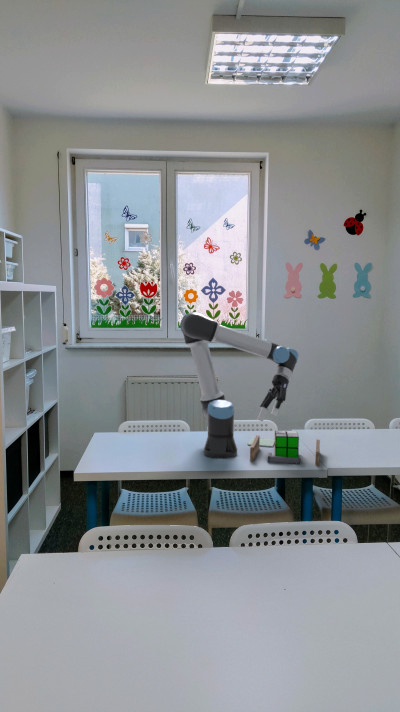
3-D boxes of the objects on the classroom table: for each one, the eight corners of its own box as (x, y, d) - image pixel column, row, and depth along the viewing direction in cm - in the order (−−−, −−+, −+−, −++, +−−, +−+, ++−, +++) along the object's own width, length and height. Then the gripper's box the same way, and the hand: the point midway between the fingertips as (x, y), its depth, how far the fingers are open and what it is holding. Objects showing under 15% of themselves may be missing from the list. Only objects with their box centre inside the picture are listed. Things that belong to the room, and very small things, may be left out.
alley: (250, 460, 216) (250, 447, 215) (256, 447, 235) (256, 435, 235) (319, 466, 209) (319, 452, 208) (319, 452, 228) (319, 439, 228)
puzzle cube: (296, 452, 228) (296, 431, 227) (298, 459, 219) (299, 436, 218) (274, 451, 229) (274, 430, 228) (275, 458, 220) (275, 436, 218)
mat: (247, 445, 239) (247, 444, 239) (251, 438, 251) (251, 437, 251) (272, 447, 236) (272, 446, 236) (275, 440, 248) (275, 439, 248)
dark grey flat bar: (267, 462, 214) (267, 456, 214) (268, 458, 219) (268, 452, 219) (300, 464, 211) (300, 459, 210) (301, 460, 216) (301, 455, 216)
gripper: (302, 375, 225) (287, 416, 217) (275, 388, 248) (261, 425, 239) (288, 367, 224) (272, 408, 216) (263, 380, 247) (248, 418, 238)
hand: (266, 417), depth 227 cm, fingers open, 13 cm apart
